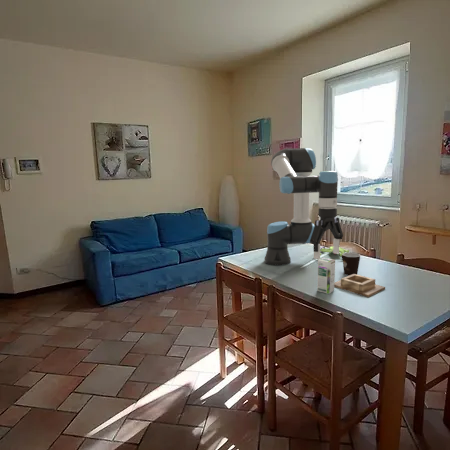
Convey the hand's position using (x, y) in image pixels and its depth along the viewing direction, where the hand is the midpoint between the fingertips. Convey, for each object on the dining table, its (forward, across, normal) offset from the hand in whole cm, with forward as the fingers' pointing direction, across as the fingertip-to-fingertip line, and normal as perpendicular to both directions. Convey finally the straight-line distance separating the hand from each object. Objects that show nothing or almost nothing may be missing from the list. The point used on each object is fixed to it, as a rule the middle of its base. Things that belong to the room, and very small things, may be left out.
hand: (326, 256), depth 143 cm
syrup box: (+16, 0, 0) cm, 16 cm away
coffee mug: (+16, +30, +7) cm, 35 cm away
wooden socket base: (+16, +14, -7) cm, 22 cm away
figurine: (+16, +52, +33) cm, 63 cm away
